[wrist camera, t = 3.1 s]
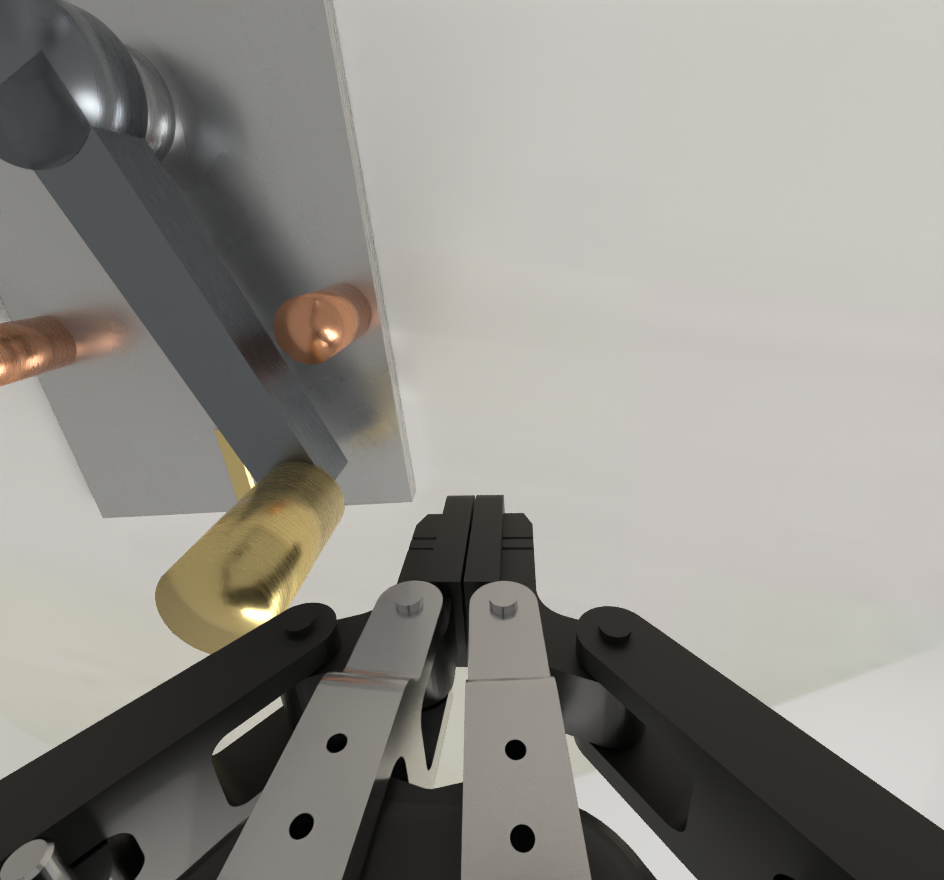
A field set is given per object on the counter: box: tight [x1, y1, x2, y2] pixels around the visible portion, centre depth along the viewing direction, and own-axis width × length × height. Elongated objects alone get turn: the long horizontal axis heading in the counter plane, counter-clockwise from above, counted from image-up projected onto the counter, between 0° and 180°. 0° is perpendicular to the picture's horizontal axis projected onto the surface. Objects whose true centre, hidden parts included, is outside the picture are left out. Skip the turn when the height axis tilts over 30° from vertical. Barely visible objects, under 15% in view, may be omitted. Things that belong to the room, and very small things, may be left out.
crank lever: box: [0, 0, 348, 654], centre depth 12 cm, size 15×4×7 cm, turn 26°
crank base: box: [0, 0, 416, 518], centre depth 15 cm, size 16×13×4 cm
